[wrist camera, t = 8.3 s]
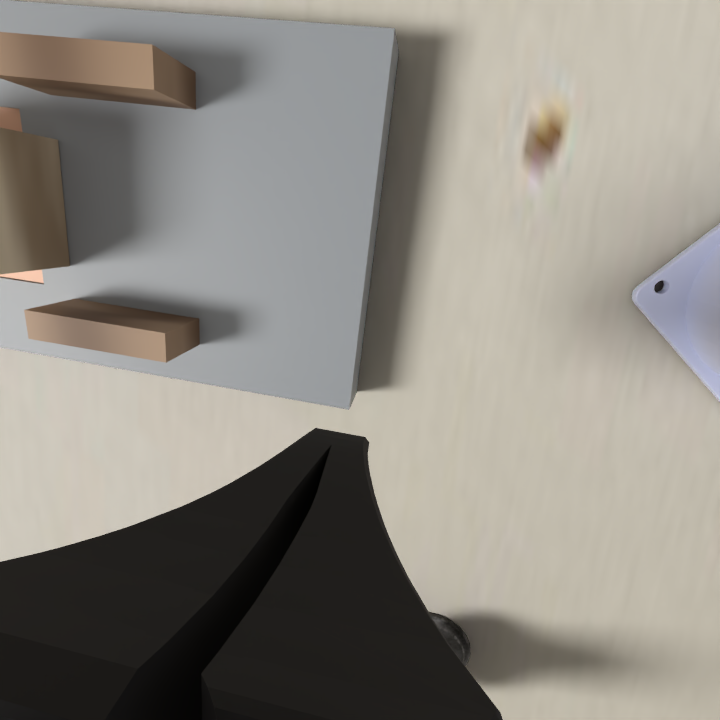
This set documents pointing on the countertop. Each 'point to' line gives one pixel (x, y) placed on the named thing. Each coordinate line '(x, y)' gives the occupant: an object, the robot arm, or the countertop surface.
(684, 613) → the countertop surface
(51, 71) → the channel walls
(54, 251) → the block
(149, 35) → the deck
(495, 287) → the countertop surface
